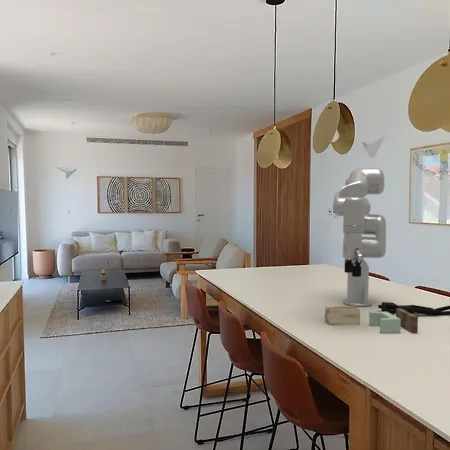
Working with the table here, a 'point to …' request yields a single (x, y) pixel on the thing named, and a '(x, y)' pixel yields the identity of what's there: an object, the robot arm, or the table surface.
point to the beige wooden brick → (342, 315)
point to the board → (407, 320)
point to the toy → (413, 309)
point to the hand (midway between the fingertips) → (352, 274)
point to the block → (385, 322)
